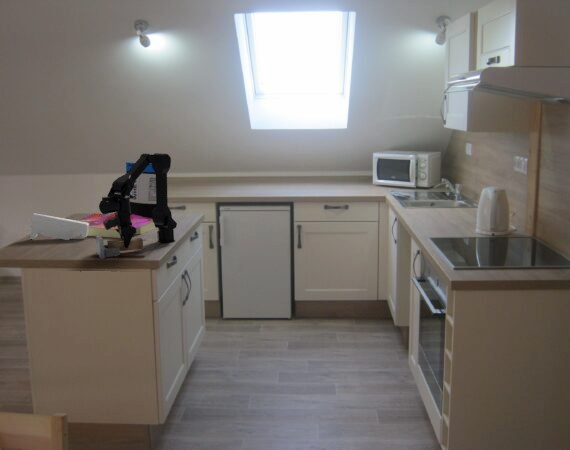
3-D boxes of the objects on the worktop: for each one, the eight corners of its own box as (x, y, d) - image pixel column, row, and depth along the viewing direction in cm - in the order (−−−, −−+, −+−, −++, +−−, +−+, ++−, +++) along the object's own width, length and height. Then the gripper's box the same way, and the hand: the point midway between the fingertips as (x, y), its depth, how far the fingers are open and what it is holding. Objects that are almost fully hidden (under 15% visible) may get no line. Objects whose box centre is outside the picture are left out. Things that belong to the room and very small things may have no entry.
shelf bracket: (32, 238, 292) (35, 212, 290) (86, 248, 294) (90, 222, 292) (28, 241, 287) (31, 214, 284) (83, 251, 289) (86, 225, 286)
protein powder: (162, 223, 324) (159, 165, 317) (123, 219, 333) (120, 163, 326) (172, 219, 332) (170, 163, 326) (134, 216, 341) (131, 161, 335)
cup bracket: (116, 251, 268) (114, 232, 266) (120, 256, 259) (119, 237, 257) (96, 253, 264) (95, 234, 263) (100, 258, 255) (99, 239, 254)
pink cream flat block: (61, 234, 300) (59, 213, 298) (91, 224, 324) (90, 204, 322) (131, 240, 289) (130, 218, 287) (158, 228, 313) (157, 208, 311)
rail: (109, 252, 260) (108, 242, 259) (107, 250, 263) (107, 240, 263) (143, 249, 265) (142, 239, 264) (141, 246, 269) (141, 237, 268)
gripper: (99, 208, 266) (101, 244, 269) (107, 215, 249) (109, 254, 252) (126, 206, 270) (128, 241, 273) (135, 213, 254) (137, 250, 257)
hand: (125, 246), depth 264 cm, fingers closed on rail, 4 cm apart
